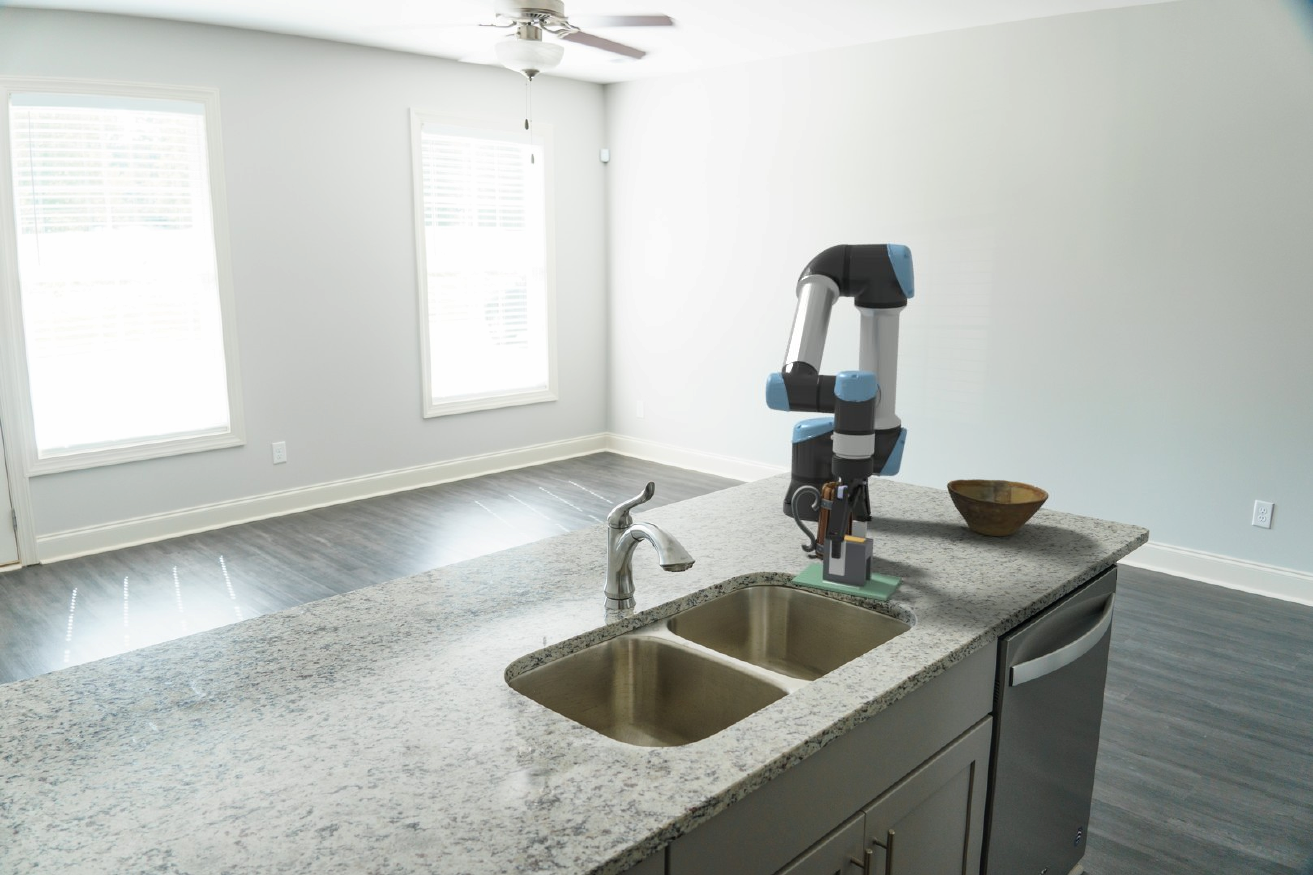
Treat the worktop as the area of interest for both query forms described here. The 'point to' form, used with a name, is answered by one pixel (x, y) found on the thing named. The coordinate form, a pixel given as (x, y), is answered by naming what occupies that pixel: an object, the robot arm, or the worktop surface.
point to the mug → (824, 516)
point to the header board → (874, 588)
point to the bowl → (996, 504)
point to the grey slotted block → (852, 561)
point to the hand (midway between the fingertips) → (847, 563)
